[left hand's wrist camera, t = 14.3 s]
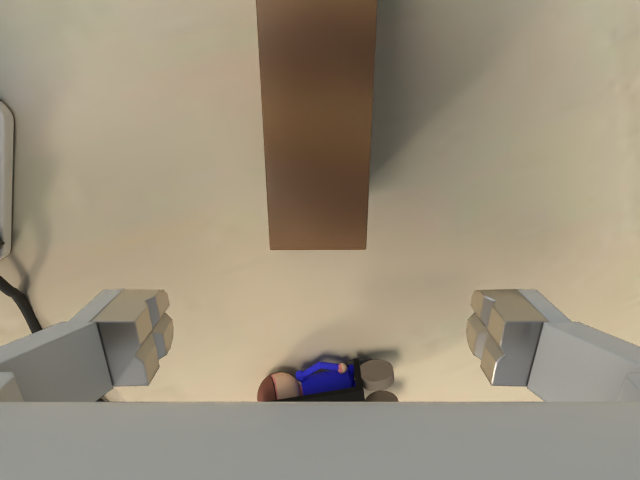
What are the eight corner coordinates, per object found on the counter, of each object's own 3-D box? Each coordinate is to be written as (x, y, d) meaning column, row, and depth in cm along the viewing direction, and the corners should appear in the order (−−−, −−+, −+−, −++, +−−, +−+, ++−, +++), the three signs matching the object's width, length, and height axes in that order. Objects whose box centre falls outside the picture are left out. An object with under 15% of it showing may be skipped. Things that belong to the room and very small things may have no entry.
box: (350, 197, 36) (366, 250, 24) (286, 197, 36) (269, 250, 24) (358, -83, 28) (387, -213, 16) (276, -82, 28) (243, -212, 16)
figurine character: (380, 333, 43) (251, 362, 43) (400, 379, 36) (247, 414, 36) (386, 379, 46) (265, 406, 45) (407, 430, 39) (263, 463, 38)
